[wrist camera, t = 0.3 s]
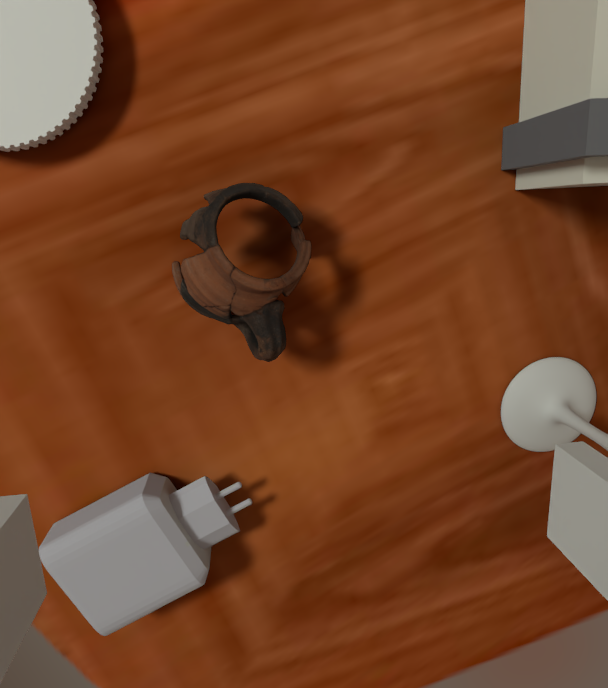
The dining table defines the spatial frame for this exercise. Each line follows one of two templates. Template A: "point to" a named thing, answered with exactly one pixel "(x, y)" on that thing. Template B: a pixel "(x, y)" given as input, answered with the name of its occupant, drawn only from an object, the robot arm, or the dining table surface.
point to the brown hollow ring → (240, 273)
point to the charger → (138, 547)
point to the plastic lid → (46, 68)
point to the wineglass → (550, 405)
